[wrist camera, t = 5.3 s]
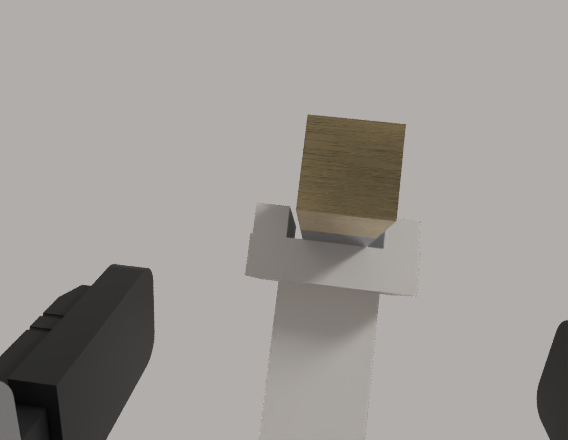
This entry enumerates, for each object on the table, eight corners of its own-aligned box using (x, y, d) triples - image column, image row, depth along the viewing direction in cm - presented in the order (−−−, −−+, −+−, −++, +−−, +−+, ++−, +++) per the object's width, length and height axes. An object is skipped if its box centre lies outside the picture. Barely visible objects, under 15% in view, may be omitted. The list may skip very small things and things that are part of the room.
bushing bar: (347, 262, 38) (351, 222, 39) (396, 221, 15) (405, 124, 16) (307, 258, 38) (311, 218, 39) (295, 209, 16) (307, 114, 16)
